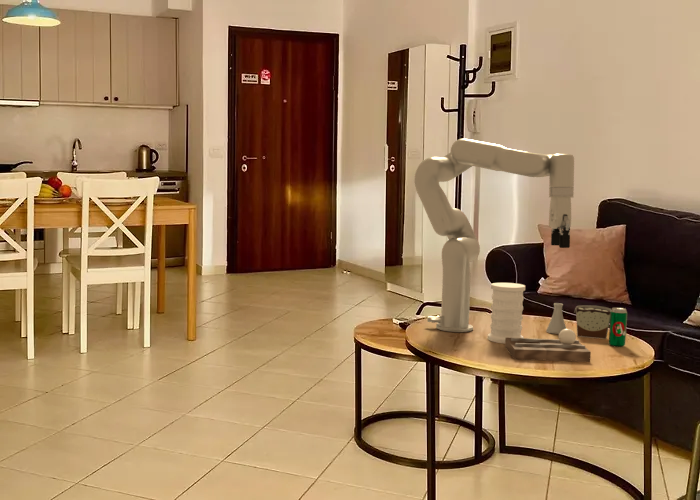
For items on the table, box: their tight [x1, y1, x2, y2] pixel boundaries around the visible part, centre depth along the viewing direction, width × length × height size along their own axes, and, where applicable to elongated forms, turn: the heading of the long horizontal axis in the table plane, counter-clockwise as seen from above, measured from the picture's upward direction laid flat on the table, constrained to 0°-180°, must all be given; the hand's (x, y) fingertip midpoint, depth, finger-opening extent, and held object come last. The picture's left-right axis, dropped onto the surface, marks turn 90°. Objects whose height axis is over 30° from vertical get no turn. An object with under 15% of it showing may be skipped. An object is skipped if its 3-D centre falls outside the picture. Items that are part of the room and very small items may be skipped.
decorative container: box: [487, 282, 526, 344], centre depth 260 cm, size 12×12×18 cm
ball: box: [558, 328, 577, 345], centre depth 241 cm, size 5×5×5 cm
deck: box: [504, 337, 592, 363], centre depth 242 cm, size 22×16×4 cm
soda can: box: [608, 307, 628, 348], centre depth 257 cm, size 5×5×12 cm
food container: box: [573, 304, 612, 340], centre depth 271 cm, size 12×6×10 cm, turn 71°
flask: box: [545, 302, 567, 335], centre depth 275 cm, size 7×7×10 cm
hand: (560, 246), depth 257 cm, fingers open, 9 cm apart
